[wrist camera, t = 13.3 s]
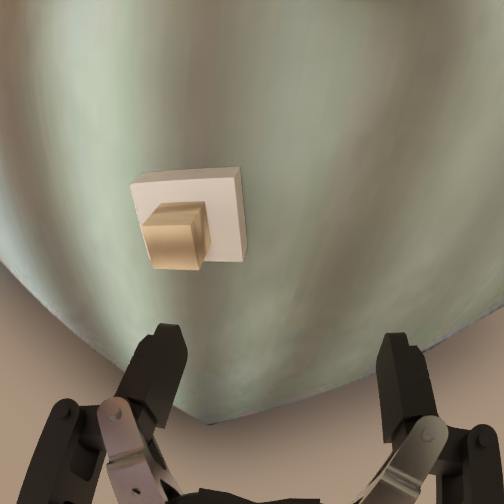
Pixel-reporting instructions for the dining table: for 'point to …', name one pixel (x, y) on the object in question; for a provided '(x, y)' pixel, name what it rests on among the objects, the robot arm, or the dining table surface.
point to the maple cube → (177, 235)
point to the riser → (195, 190)
